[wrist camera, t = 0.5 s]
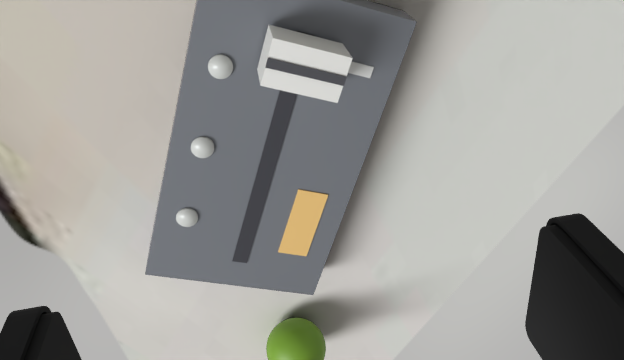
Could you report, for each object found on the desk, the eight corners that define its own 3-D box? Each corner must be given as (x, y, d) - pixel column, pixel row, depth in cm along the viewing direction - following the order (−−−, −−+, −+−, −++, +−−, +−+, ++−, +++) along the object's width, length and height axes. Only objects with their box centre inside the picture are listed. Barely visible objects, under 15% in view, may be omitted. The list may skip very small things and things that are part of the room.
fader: (268, 24, 34) (273, 38, 32) (342, 43, 36) (353, 58, 33) (257, 69, 36) (260, 86, 33) (328, 86, 37) (337, 103, 34)
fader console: (205, -46, 35) (204, -38, 32) (403, 10, 39) (417, 22, 36) (149, 251, 46) (144, 276, 43) (308, 272, 50) (313, 296, 47)
